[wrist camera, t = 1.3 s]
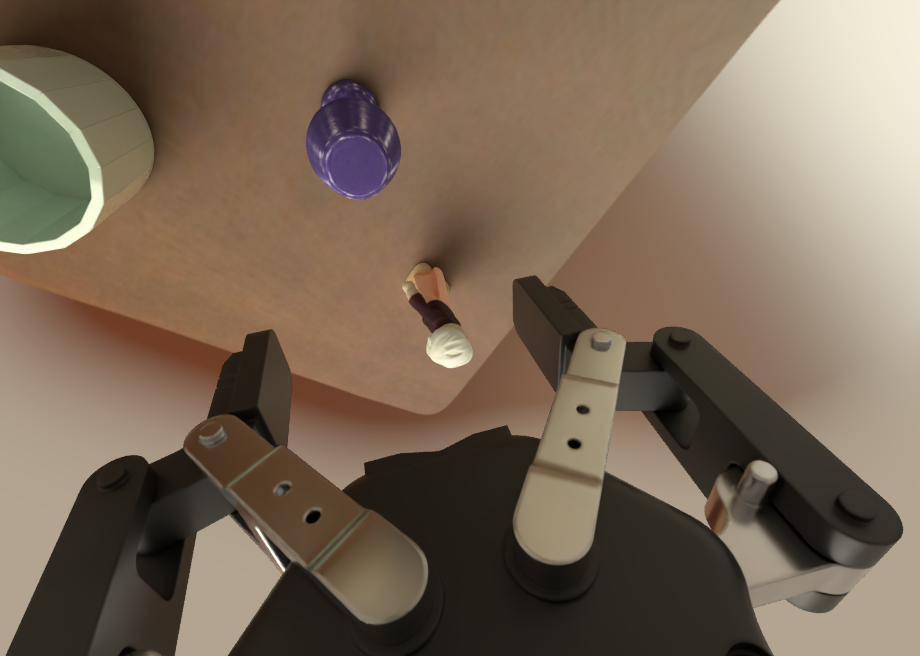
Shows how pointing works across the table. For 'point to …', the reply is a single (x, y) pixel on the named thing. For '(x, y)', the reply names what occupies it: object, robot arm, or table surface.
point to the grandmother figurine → (437, 316)
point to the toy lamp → (352, 142)
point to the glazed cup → (64, 148)
